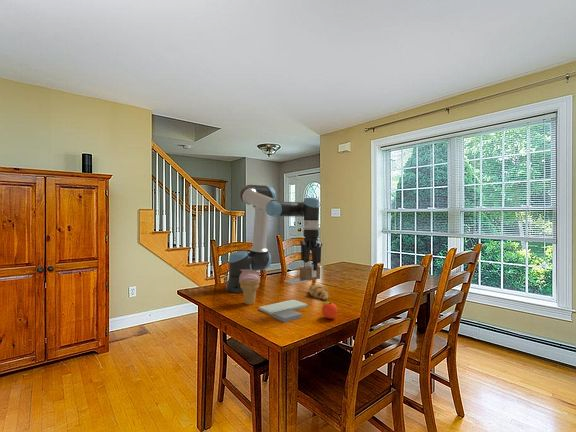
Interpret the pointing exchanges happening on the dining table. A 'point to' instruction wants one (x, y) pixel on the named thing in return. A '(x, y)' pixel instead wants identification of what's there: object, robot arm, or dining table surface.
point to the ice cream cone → (249, 284)
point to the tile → (287, 315)
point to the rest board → (283, 306)
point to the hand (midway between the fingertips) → (310, 276)
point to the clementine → (329, 310)
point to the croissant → (318, 292)
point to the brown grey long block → (304, 275)
